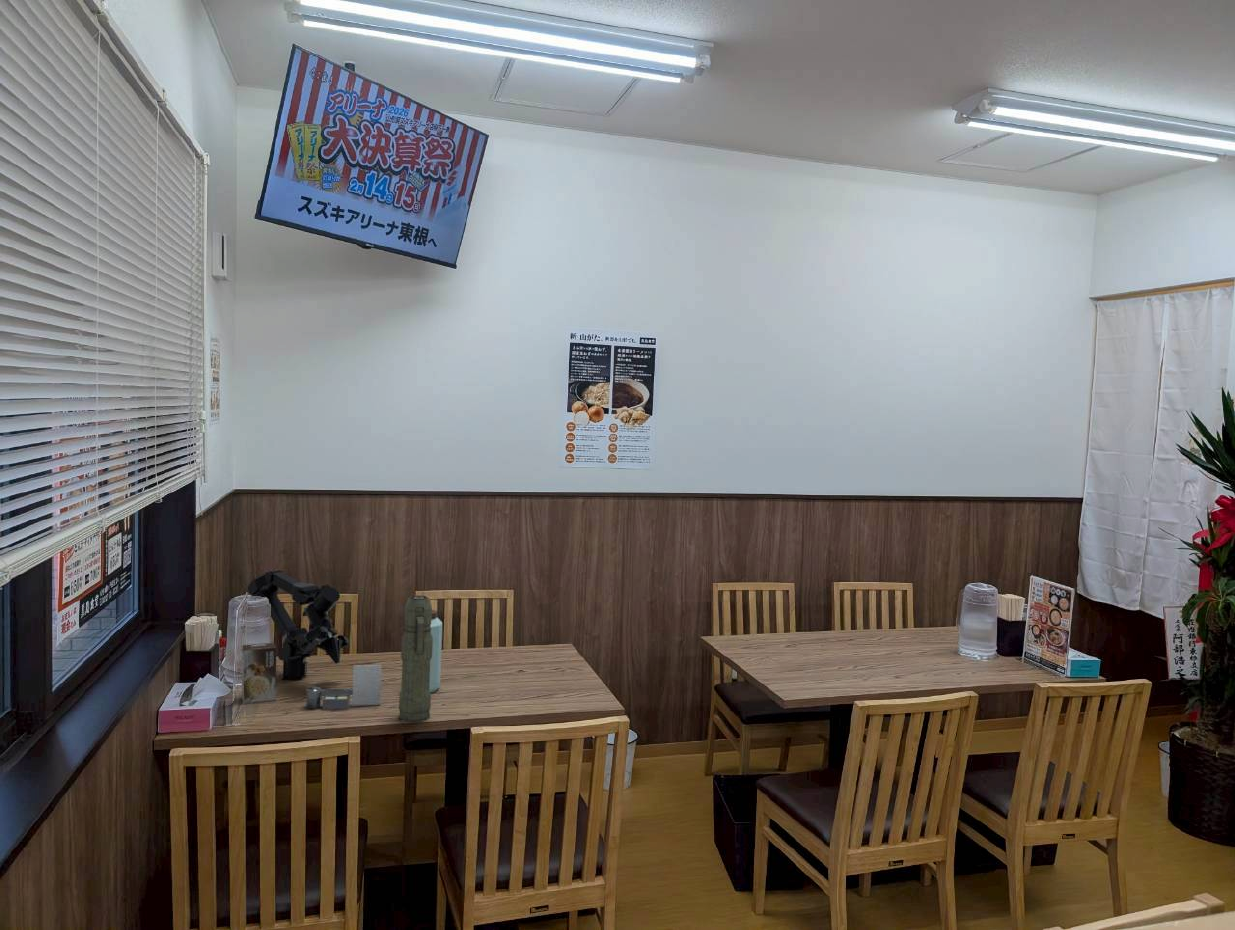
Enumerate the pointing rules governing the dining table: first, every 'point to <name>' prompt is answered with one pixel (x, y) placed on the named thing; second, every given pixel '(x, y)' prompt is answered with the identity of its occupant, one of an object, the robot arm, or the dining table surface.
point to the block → (336, 702)
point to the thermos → (416, 660)
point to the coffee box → (259, 672)
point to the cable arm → (362, 691)
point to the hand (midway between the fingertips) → (337, 662)
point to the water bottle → (435, 652)
